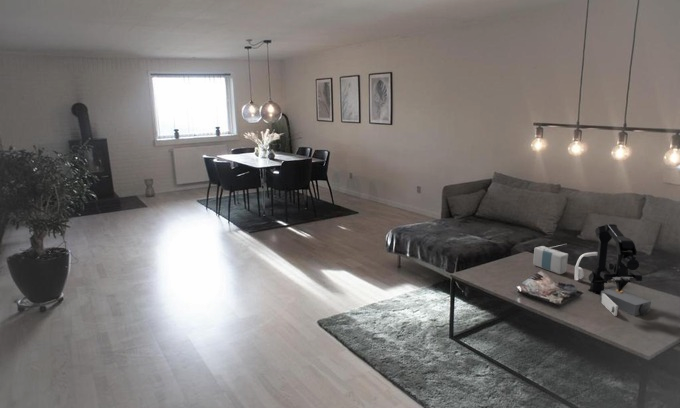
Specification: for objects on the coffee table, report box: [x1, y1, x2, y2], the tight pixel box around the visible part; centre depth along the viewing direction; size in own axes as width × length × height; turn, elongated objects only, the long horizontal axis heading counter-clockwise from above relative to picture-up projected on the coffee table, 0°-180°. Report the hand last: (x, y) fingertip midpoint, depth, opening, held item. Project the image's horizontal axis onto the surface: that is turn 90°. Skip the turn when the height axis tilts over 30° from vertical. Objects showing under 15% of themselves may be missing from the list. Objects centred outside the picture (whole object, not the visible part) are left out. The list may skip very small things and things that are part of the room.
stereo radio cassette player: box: [532, 243, 569, 275], centre depth 304 cm, size 21×8×20 cm, turn 28°
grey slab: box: [599, 287, 652, 317], centre depth 250 cm, size 21×12×7 cm, turn 23°
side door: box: [600, 293, 619, 317], centre depth 248 cm, size 17×2×6 cm, turn 173°
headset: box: [573, 251, 598, 281], centre depth 287 cm, size 20×7×18 cm, turn 102°
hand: (619, 291), depth 243 cm, fingers closed
